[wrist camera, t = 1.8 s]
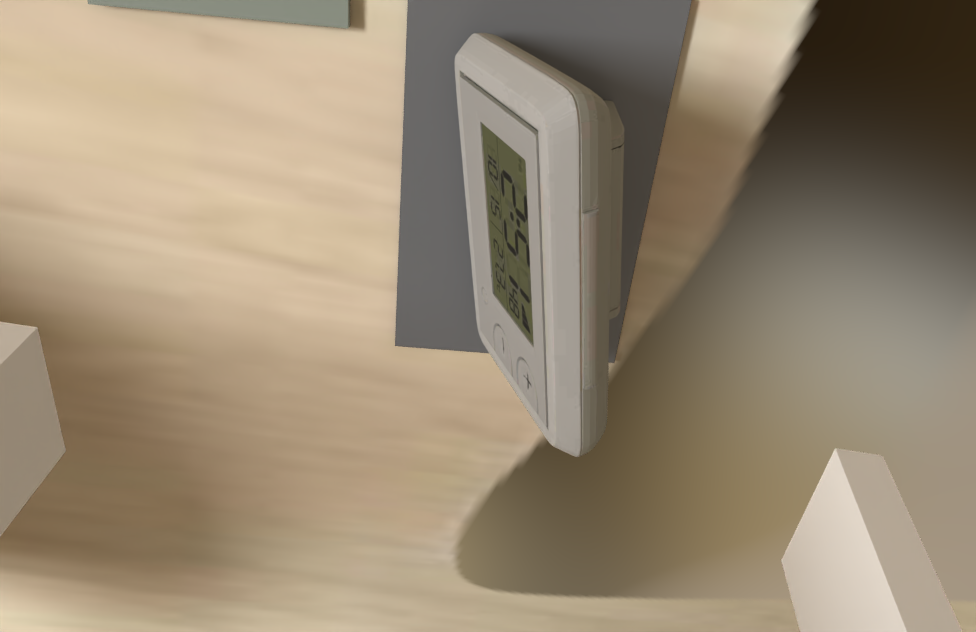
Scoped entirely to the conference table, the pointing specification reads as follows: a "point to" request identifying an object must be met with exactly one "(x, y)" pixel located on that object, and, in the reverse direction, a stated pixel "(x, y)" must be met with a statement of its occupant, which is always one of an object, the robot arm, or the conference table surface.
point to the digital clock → (542, 231)
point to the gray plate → (437, 146)
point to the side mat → (252, 9)
